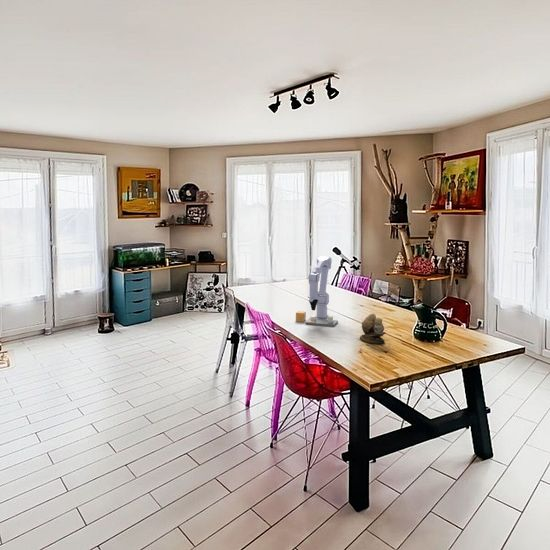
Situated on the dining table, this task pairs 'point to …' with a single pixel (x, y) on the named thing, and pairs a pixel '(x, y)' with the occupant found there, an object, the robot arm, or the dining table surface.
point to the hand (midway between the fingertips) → (313, 310)
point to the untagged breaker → (330, 319)
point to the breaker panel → (321, 322)
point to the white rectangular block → (313, 318)
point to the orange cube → (300, 316)
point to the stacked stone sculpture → (372, 330)
